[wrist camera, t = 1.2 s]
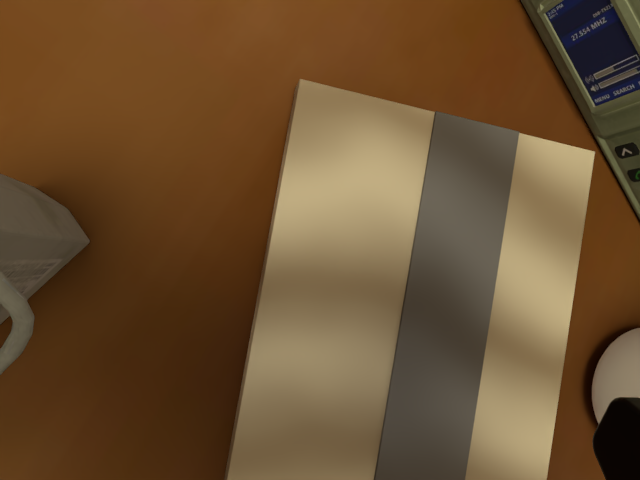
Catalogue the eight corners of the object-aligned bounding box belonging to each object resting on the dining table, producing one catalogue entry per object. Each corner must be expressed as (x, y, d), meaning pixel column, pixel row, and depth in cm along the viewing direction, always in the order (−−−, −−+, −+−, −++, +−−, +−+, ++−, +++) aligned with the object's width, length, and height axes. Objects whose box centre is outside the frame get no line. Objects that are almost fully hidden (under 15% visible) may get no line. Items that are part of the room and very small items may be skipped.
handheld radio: (671, 306, 28) (424, -146, 26) (714, 272, 29) (478, -172, 26) (819, 319, 21) (506, -286, 19) (870, 274, 22) (574, -314, 20)
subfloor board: (520, 535, 25) (538, 550, 24) (218, 509, 23) (219, 525, 21) (577, 156, 27) (597, 151, 25) (295, 87, 24) (301, 77, 22)
